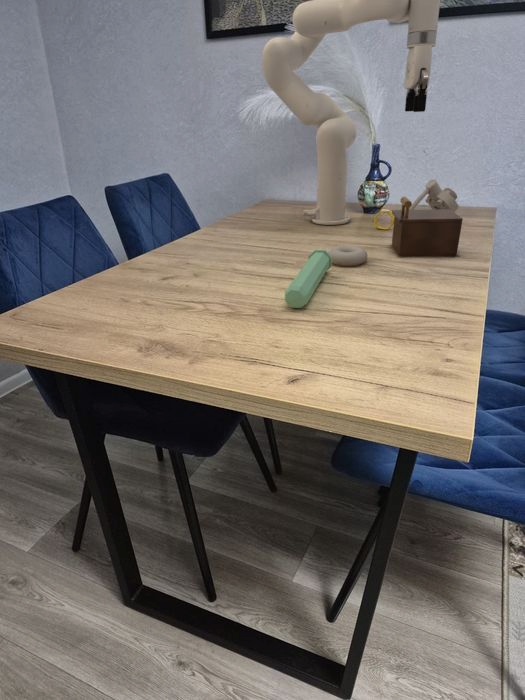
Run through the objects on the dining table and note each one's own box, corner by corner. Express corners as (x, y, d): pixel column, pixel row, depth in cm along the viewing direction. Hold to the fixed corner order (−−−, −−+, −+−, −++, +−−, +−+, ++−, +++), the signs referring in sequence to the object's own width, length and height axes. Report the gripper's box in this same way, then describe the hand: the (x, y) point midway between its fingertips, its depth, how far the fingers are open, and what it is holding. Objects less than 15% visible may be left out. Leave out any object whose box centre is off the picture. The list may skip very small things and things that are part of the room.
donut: (352, 270, 114) (374, 260, 121) (353, 257, 113) (375, 247, 119) (319, 263, 121) (341, 253, 127) (319, 250, 119) (342, 241, 125)
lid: (399, 222, 119) (401, 203, 116) (391, 213, 129) (393, 194, 127) (462, 221, 117) (465, 201, 115) (449, 212, 128) (452, 193, 125)
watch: (372, 229, 150) (373, 210, 147) (375, 227, 152) (376, 208, 149) (391, 230, 147) (393, 211, 144) (393, 228, 149) (395, 209, 146)
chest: (398, 256, 123) (402, 222, 119) (391, 245, 133) (394, 213, 129) (456, 256, 121) (462, 222, 117) (444, 244, 132) (449, 212, 128)
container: (302, 282, 90) (327, 245, 111) (275, 290, 93) (304, 253, 113) (313, 309, 92) (336, 268, 113) (286, 317, 95) (313, 275, 115)
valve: (409, 245, 166) (387, 215, 159) (447, 203, 165) (427, 170, 158) (428, 250, 157) (406, 218, 150) (468, 205, 157) (448, 171, 149)
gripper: (400, 45, 136) (395, 111, 144) (415, 37, 120) (408, 112, 128) (426, 44, 135) (419, 110, 143) (445, 36, 120) (436, 111, 128)
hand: (414, 111), depth 136 cm, fingers open, 9 cm apart
